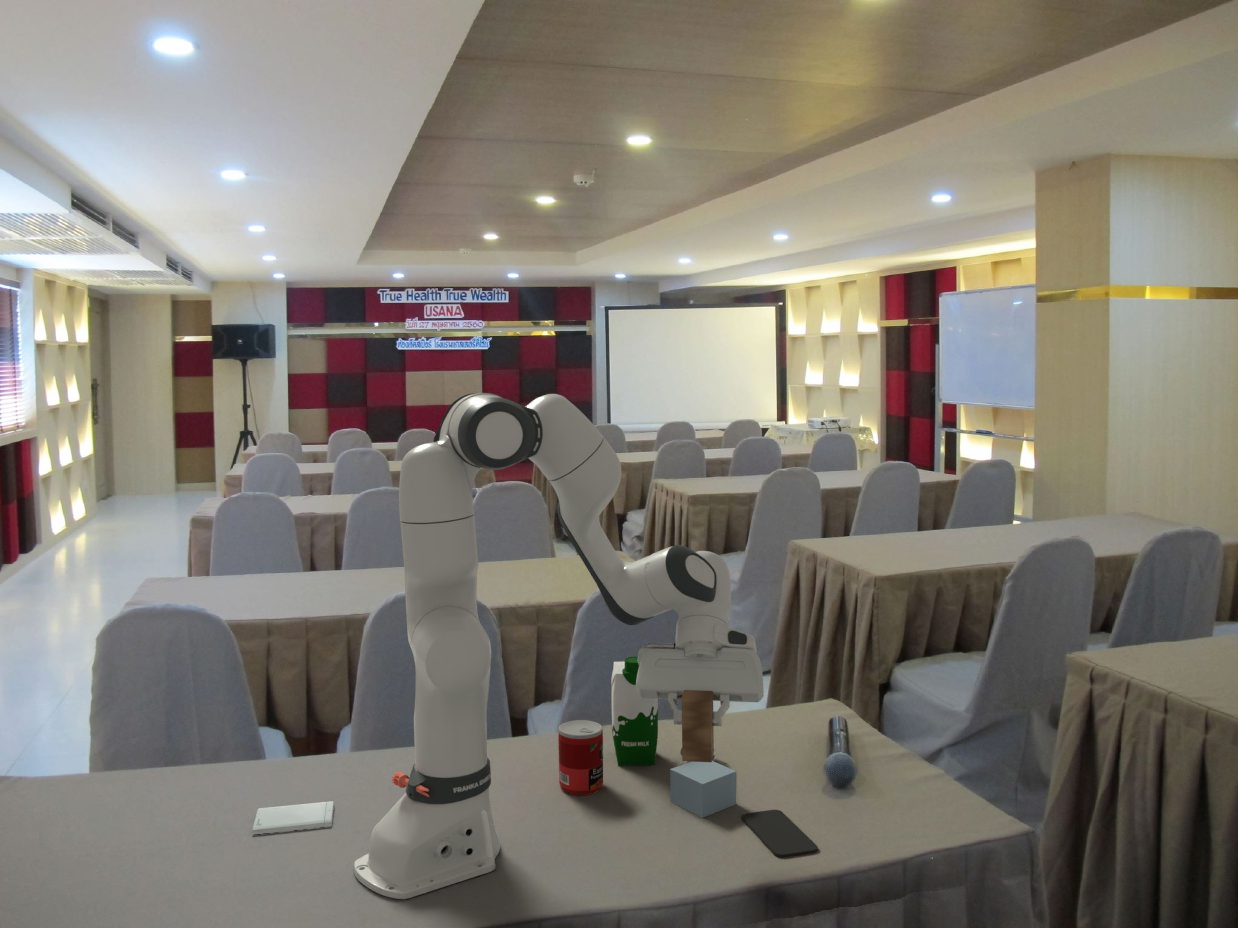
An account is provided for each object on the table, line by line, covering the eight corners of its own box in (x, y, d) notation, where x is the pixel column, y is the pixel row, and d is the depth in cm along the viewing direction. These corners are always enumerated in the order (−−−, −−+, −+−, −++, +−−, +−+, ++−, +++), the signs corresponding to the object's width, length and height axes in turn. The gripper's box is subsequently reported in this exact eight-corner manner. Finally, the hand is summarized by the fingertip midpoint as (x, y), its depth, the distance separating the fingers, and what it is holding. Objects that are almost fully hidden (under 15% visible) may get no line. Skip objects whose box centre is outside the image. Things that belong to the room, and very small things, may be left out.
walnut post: (682, 760, 156) (681, 698, 155) (685, 749, 161) (684, 688, 159) (711, 762, 155) (710, 699, 154) (713, 750, 160) (713, 689, 159)
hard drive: (251, 829, 164) (331, 820, 167) (257, 807, 172) (333, 798, 174) (252, 838, 164) (331, 829, 167) (258, 816, 172) (334, 808, 175)
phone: (779, 808, 171) (821, 848, 157) (779, 813, 171) (821, 853, 157) (738, 814, 169) (777, 855, 155) (738, 818, 169) (777, 860, 155)
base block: (702, 818, 169) (702, 783, 168) (670, 802, 175) (670, 768, 174) (736, 804, 174) (736, 771, 173) (703, 789, 180) (703, 757, 179)
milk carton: (613, 767, 189) (612, 663, 187) (611, 749, 198) (610, 649, 196) (660, 766, 190) (659, 662, 187) (655, 747, 199) (655, 648, 196)
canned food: (598, 797, 177) (597, 736, 175) (554, 793, 178) (553, 733, 177) (607, 779, 184) (607, 720, 183) (565, 776, 186) (564, 718, 185)
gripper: (636, 633, 165) (628, 712, 156) (763, 636, 161) (762, 717, 153) (641, 651, 169) (633, 729, 161) (764, 655, 166) (763, 735, 158)
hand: (697, 723), depth 157 cm, fingers closed on walnut post, 4 cm apart
